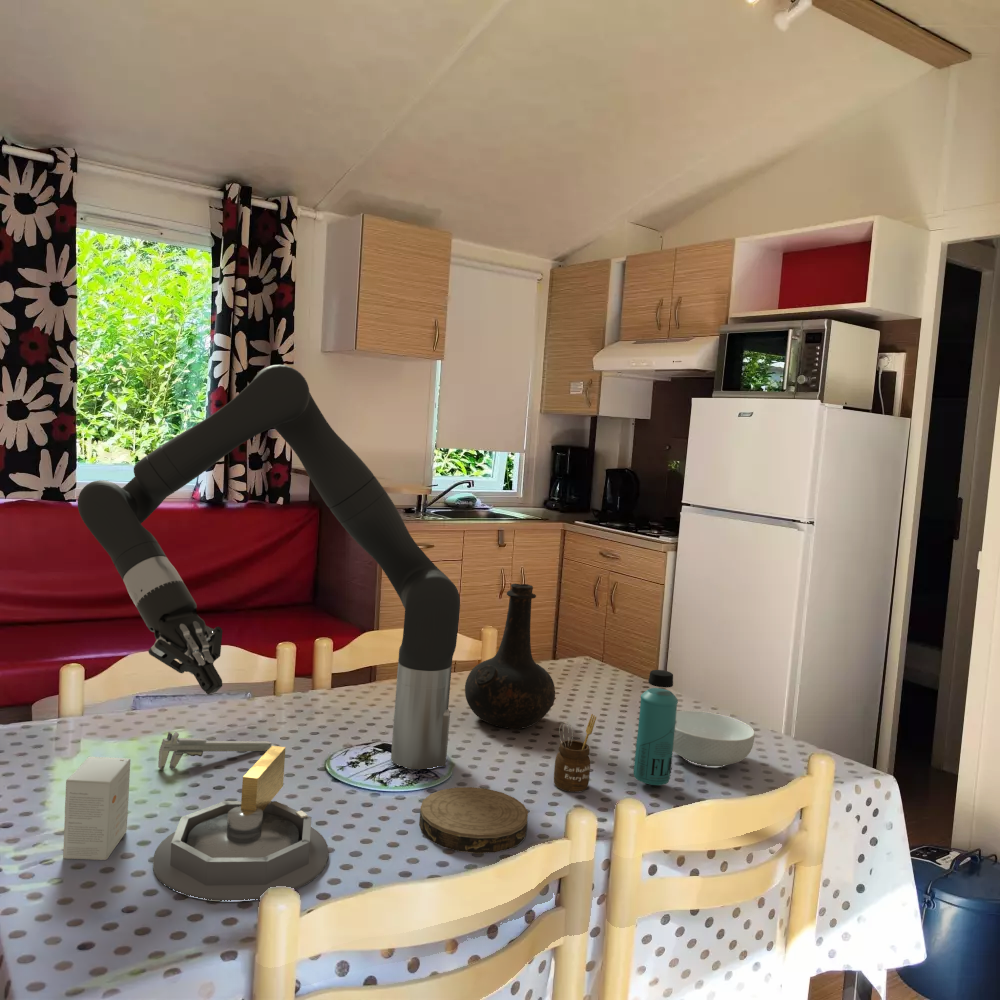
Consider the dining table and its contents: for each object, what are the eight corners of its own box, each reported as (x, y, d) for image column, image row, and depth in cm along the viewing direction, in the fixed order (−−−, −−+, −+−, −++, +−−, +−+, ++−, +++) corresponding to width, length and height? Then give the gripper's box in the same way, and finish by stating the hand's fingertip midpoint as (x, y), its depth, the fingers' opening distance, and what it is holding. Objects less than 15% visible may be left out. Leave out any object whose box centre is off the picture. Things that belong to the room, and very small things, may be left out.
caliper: (160, 773, 141) (162, 735, 141) (157, 770, 142) (159, 732, 142) (277, 749, 155) (280, 714, 154) (274, 747, 156) (276, 712, 155)
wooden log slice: (440, 861, 121) (442, 840, 121) (405, 811, 136) (406, 792, 135) (545, 848, 127) (546, 828, 127) (500, 801, 142) (502, 783, 142)
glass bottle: (445, 714, 180) (456, 578, 178) (511, 702, 192) (523, 573, 189) (502, 743, 167) (515, 596, 164) (570, 728, 178) (583, 590, 176)
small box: (85, 830, 121) (88, 755, 120) (127, 832, 121) (131, 757, 120) (61, 859, 113) (64, 779, 112) (106, 861, 113) (110, 781, 112)
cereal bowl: (767, 764, 167) (771, 728, 167) (722, 786, 155) (727, 747, 154) (688, 737, 179) (692, 703, 178) (641, 755, 166) (645, 718, 166)
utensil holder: (546, 780, 151) (553, 711, 150) (579, 777, 154) (586, 709, 153) (562, 794, 146) (569, 723, 145) (596, 791, 148) (603, 721, 147)
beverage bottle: (646, 796, 148) (658, 678, 146) (623, 780, 154) (634, 667, 152) (677, 791, 151) (690, 676, 149) (653, 776, 157) (665, 665, 155)
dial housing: (328, 819, 130) (330, 792, 130) (326, 900, 108) (329, 869, 108) (170, 819, 126) (171, 791, 125) (135, 904, 104) (137, 871, 104)
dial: (277, 882, 110) (282, 809, 109) (167, 868, 111) (171, 796, 110) (321, 814, 129) (326, 751, 128) (227, 803, 130) (231, 741, 129)
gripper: (137, 584, 127) (195, 686, 122) (206, 574, 139) (262, 666, 134) (109, 614, 130) (165, 715, 125) (179, 602, 141) (233, 693, 137)
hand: (215, 690), depth 130 cm, fingers closed
